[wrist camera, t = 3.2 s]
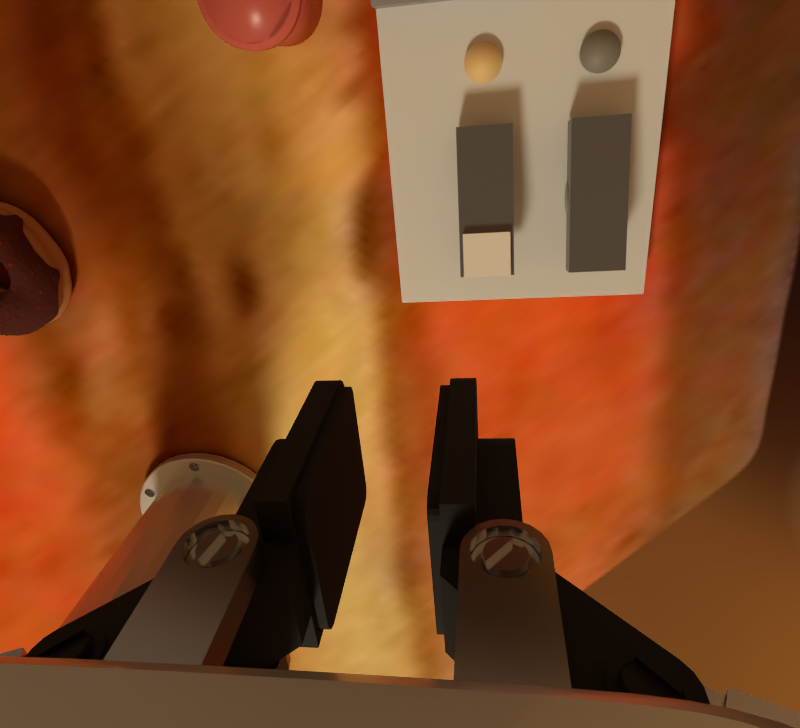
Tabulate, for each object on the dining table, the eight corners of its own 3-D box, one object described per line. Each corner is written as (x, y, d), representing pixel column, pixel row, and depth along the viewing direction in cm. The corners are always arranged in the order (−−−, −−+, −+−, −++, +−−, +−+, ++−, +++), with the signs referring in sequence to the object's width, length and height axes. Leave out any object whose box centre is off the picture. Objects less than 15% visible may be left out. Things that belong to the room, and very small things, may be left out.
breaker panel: (635, 283, 38) (649, 302, 35) (405, 292, 40) (399, 311, 37) (689, -243, 26) (716, -283, 23) (364, -190, 29) (350, -220, 26)
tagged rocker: (512, 270, 35) (514, 275, 33) (461, 272, 35) (460, 277, 33) (510, 128, 33) (513, 121, 30) (457, 132, 33) (455, 126, 31)
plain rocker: (616, 266, 34) (625, 270, 32) (563, 268, 35) (569, 272, 32) (621, 119, 32) (631, 113, 30) (565, 123, 33) (571, 118, 30)
